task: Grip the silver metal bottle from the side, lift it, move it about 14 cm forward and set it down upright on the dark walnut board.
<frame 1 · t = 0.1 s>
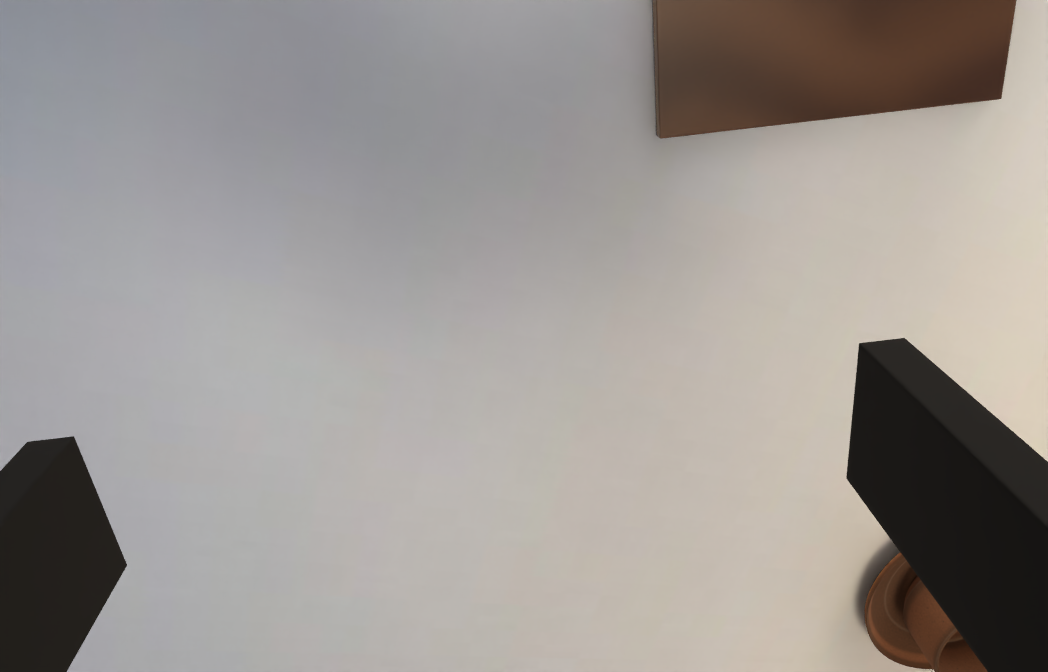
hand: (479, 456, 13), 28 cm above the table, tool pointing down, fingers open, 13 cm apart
cup and saucer: (939, 579, 53), on the table
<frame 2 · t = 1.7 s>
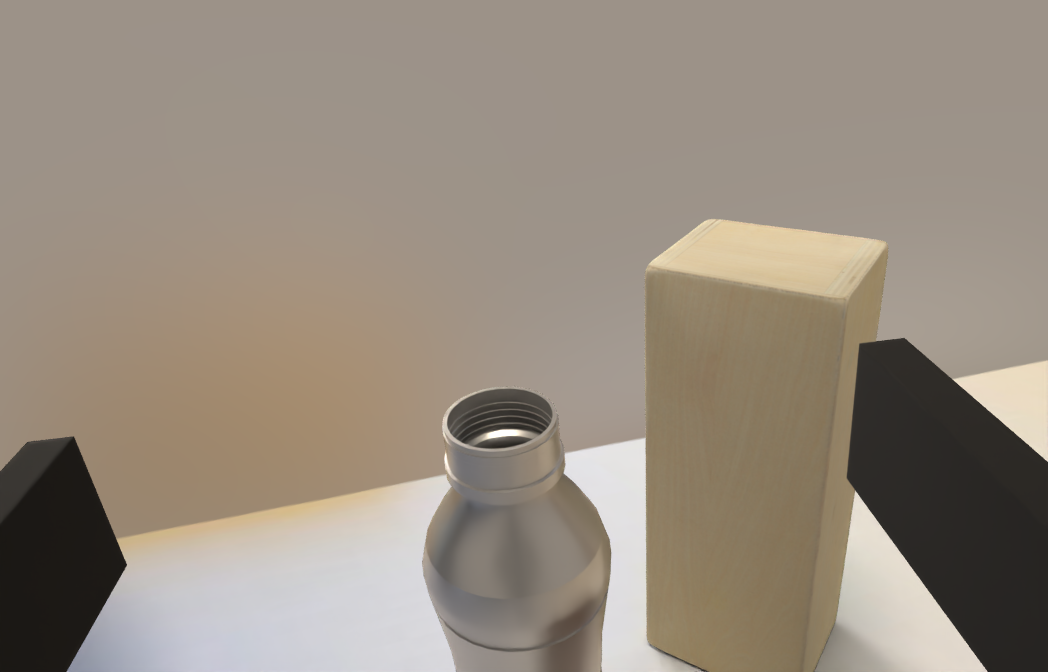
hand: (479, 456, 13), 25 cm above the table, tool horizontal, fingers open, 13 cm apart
toy refrigerator: (746, 630, 41), on the table
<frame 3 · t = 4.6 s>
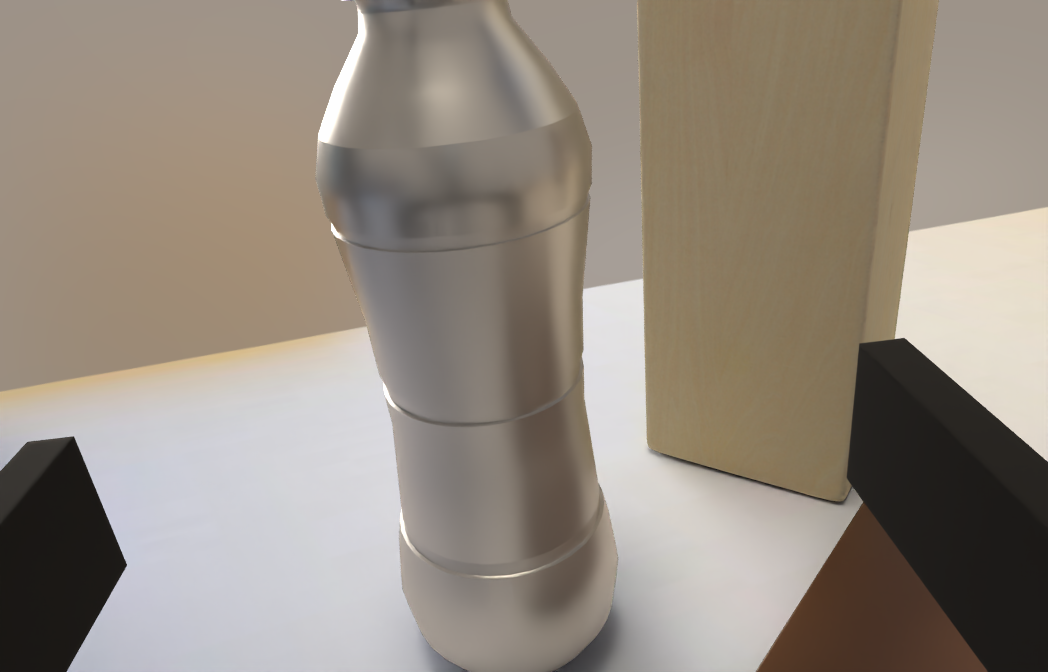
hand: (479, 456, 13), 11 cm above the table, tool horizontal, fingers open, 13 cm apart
silver metal bottle: (518, 627, 25), on the table
toy refrigerator: (771, 434, 33), on the table
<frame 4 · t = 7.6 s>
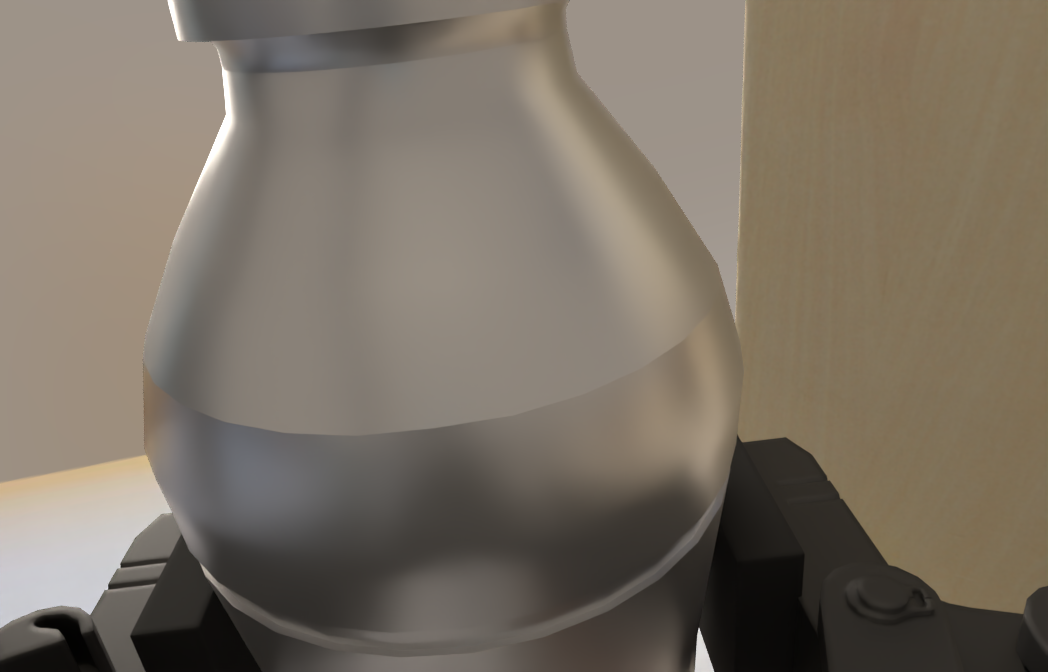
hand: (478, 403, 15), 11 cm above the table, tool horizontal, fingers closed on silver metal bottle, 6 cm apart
toy refrigerator: (898, 621, 23), on the table
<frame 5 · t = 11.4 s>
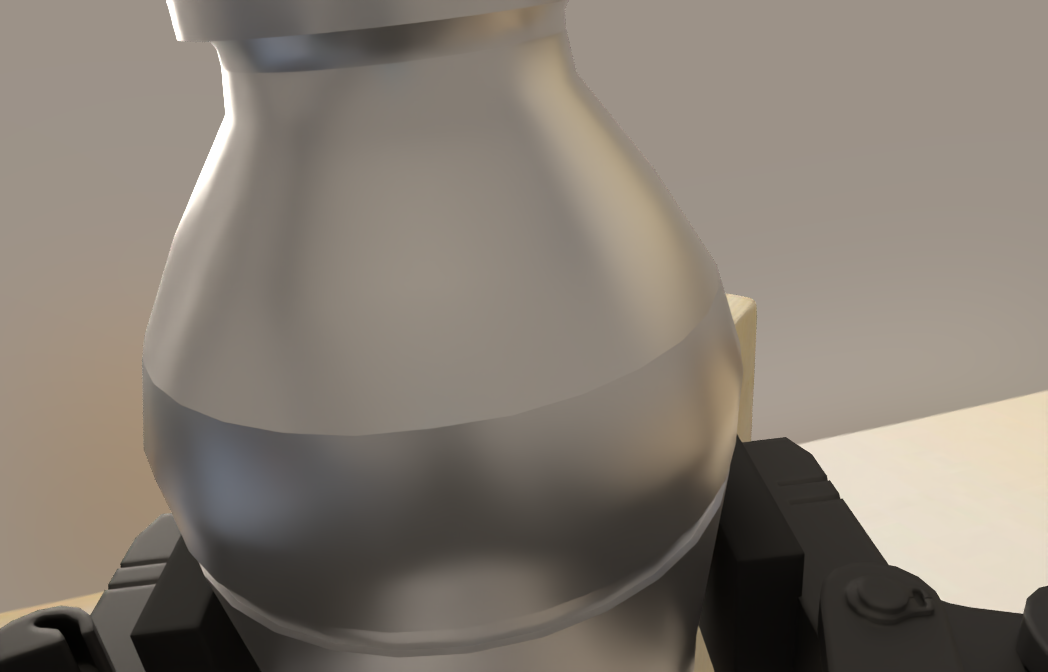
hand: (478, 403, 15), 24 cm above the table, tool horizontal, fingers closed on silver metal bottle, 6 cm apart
when the fingers open (12 cm above the table, at t = 15.6 s): silver metal bottle stays where it is, resting on walnut board.
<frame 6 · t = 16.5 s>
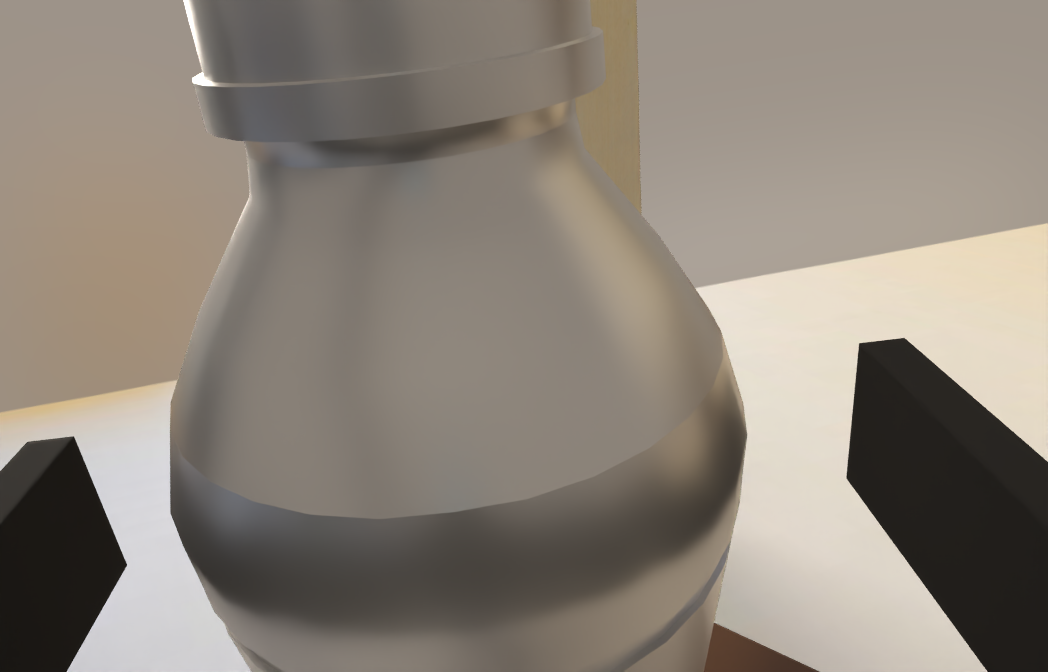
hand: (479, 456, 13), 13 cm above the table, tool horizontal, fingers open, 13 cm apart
toy refrigerator: (536, 505, 32), on the table
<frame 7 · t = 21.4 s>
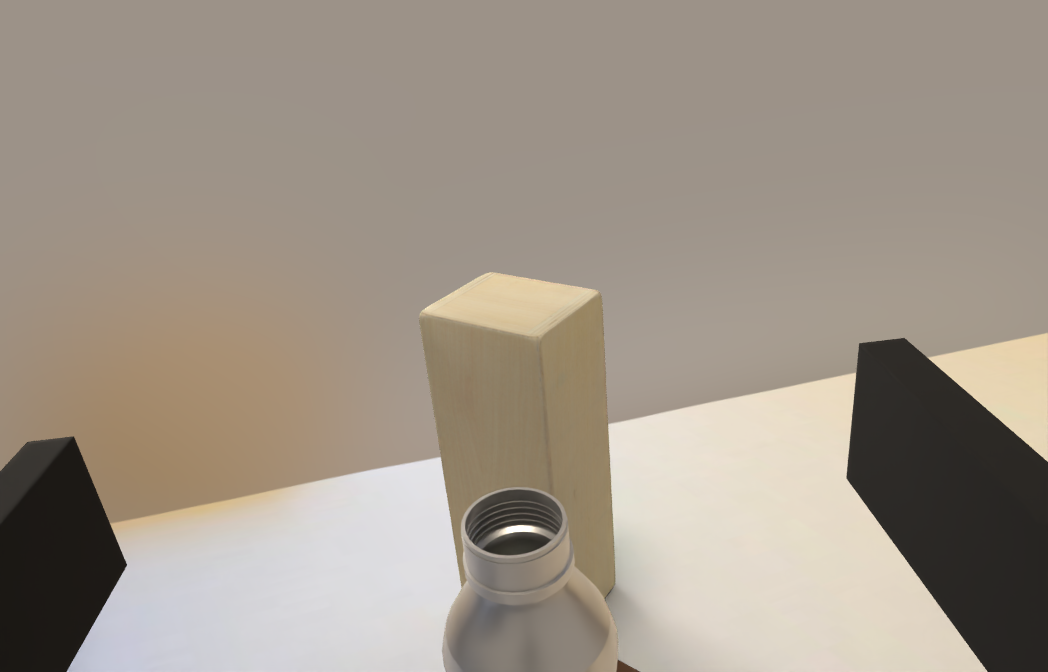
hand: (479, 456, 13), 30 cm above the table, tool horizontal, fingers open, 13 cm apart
toy refrigerator: (545, 593, 52), on the table
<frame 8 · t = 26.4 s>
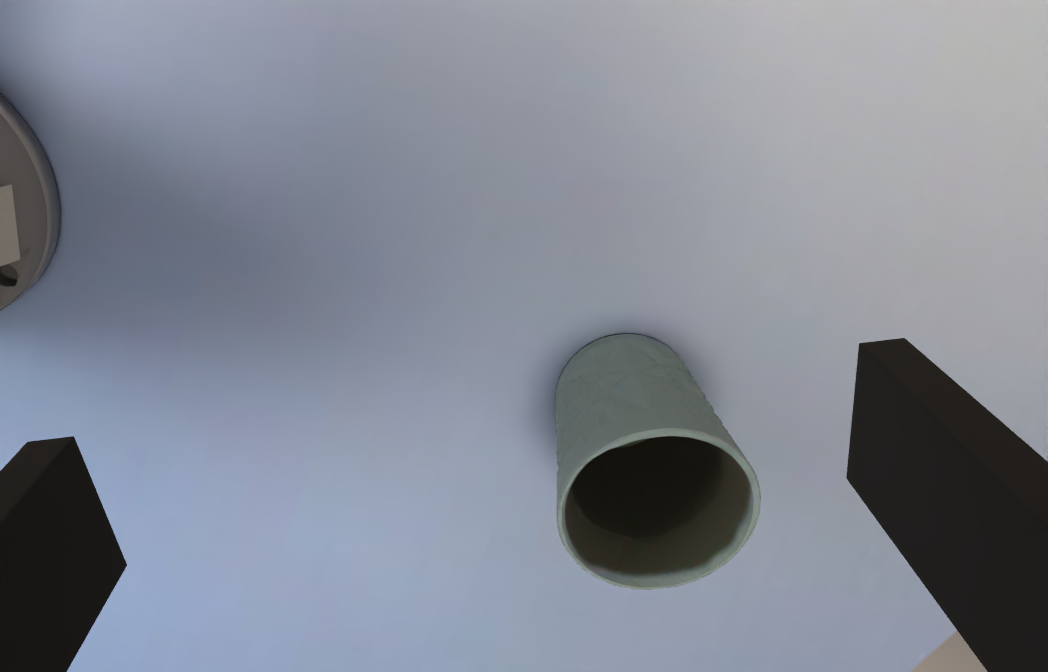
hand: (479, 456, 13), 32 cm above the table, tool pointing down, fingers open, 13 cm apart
green embossed cup: (618, 394, 50), on the table
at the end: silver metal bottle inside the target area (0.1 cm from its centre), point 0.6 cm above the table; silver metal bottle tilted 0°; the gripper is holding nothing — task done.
